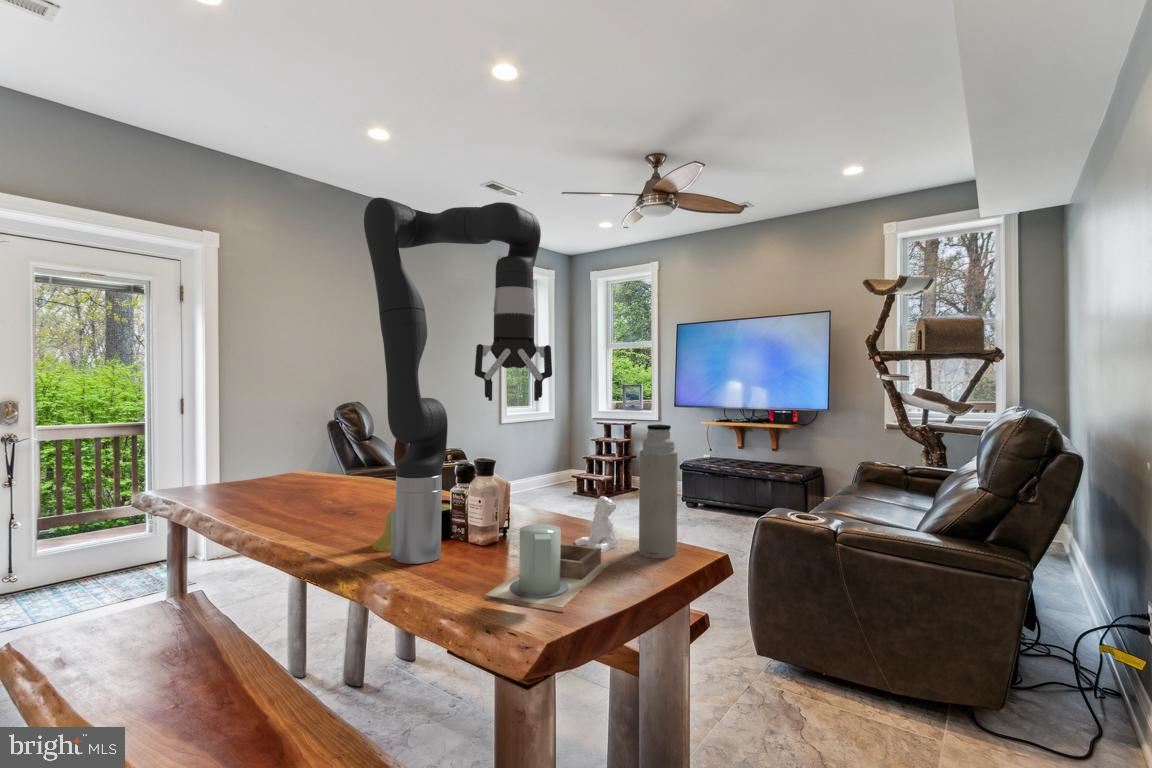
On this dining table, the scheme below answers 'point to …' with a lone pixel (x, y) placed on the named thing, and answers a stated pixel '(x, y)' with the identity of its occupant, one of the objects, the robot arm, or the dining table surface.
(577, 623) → the dining table surface
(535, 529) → the sage jug
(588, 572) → the jug stand
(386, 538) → the handbell
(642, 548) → the thermos bottle
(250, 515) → the dining table surface
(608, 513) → the seated beast figurine
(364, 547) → the dining table surface
